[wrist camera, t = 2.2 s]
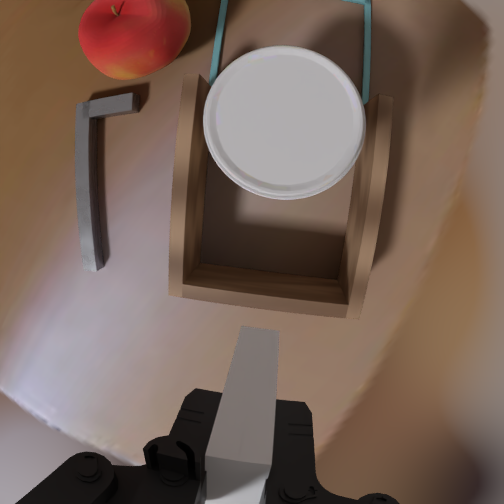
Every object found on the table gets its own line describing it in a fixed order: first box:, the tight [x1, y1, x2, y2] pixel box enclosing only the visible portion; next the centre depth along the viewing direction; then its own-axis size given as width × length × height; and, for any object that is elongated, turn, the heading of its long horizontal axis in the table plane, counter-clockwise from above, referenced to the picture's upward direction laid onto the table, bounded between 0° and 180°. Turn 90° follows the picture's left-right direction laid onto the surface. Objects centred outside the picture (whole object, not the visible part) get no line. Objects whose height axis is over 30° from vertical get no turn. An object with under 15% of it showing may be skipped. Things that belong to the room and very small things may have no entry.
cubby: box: [169, 74, 393, 319], centre depth 26 cm, size 18×16×6 cm
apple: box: [79, 0, 191, 80], centre depth 21 cm, size 10×10×10 cm
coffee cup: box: [203, 45, 366, 200], centre depth 22 cm, size 9×9×12 cm
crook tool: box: [75, 93, 140, 271], centre depth 29 cm, size 18×7×2 cm, turn 0°
